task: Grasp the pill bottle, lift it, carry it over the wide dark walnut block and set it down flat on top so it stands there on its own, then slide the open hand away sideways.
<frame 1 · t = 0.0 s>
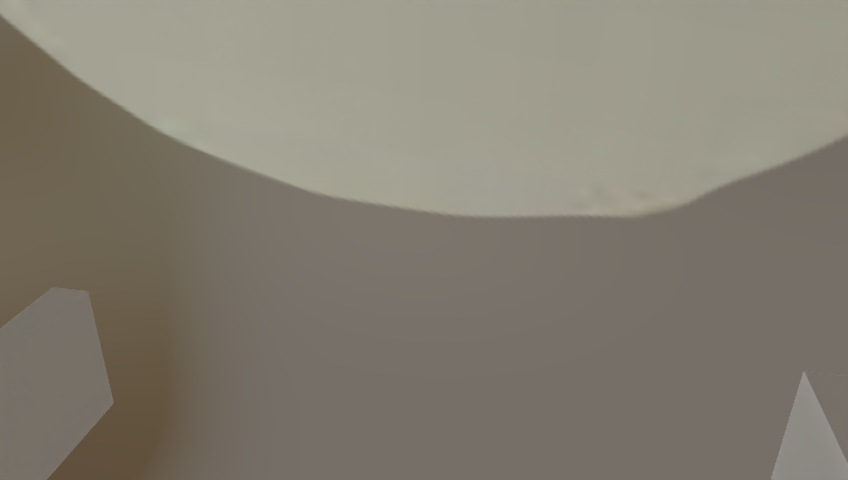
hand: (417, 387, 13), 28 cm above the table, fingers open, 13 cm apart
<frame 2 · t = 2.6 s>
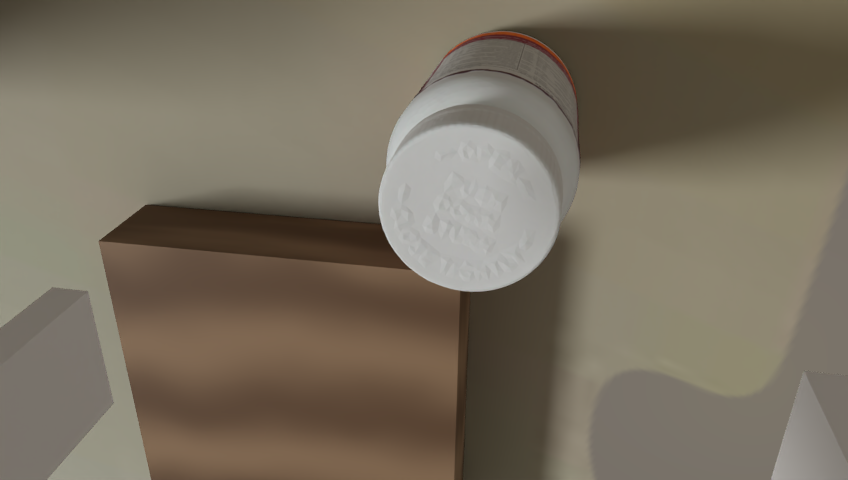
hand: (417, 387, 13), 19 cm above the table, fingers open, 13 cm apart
walnut block: (313, 357, 37), on the table
pill bottle: (502, 101, 30), on the table
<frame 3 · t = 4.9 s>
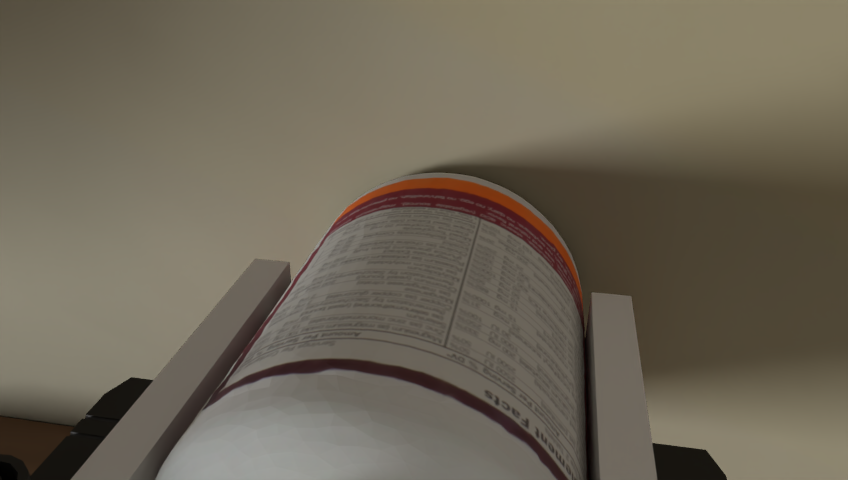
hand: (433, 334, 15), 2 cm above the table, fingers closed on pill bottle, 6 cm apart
pill bottle: (449, 283, 17), on the table, touching gripper
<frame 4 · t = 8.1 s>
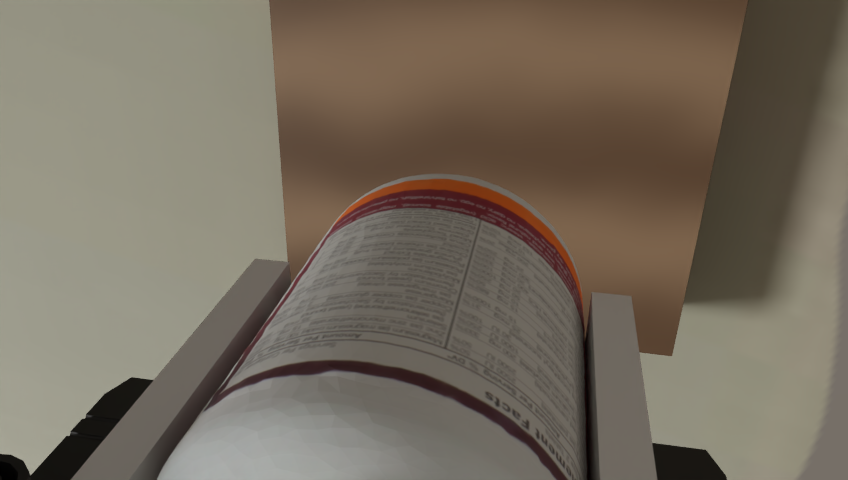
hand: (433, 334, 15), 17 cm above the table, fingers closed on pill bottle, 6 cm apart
walnut block: (495, 119, 30), on the table
pill bottle: (449, 283, 17), point 15 cm above the table, touching gripper
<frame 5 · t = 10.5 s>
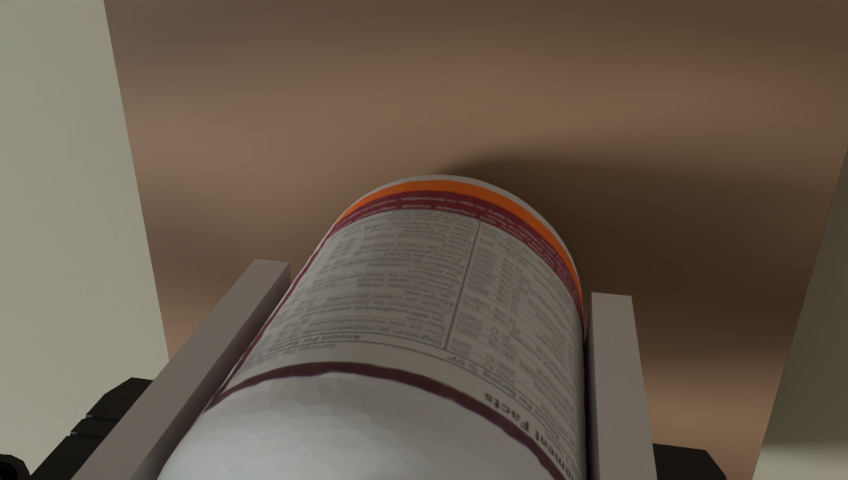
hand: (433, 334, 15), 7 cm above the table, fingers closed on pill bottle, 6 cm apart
walnut block: (471, 201, 21), on the table
pill bottle: (449, 284, 17), point 5 cm above the table, touching gripper
when the fingers open (6 cm above the table, at t = 11.8 s): pill bottle stays where it is, resting on walnut block.
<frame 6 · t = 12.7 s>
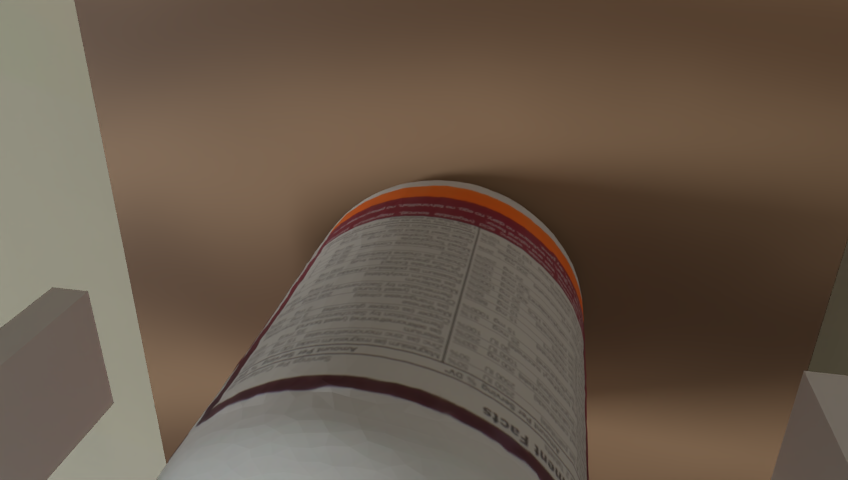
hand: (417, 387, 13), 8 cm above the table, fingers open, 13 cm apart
walnut block: (468, 220, 20), on the table
pill bottle: (448, 291, 17), point 4 cm above the table, touching walnut block
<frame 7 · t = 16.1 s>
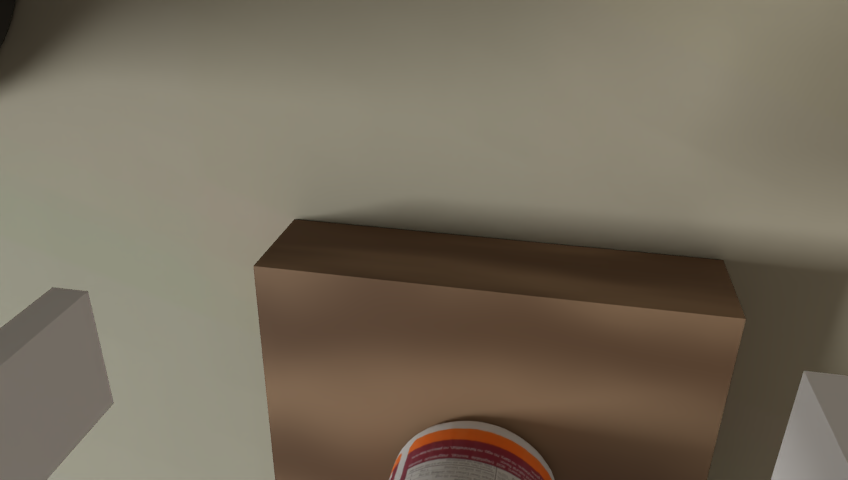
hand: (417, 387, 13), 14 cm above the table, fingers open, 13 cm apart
walnut block: (487, 409, 30), on the table
pill bottle: (476, 475, 27), point 4 cm above the table, touching walnut block
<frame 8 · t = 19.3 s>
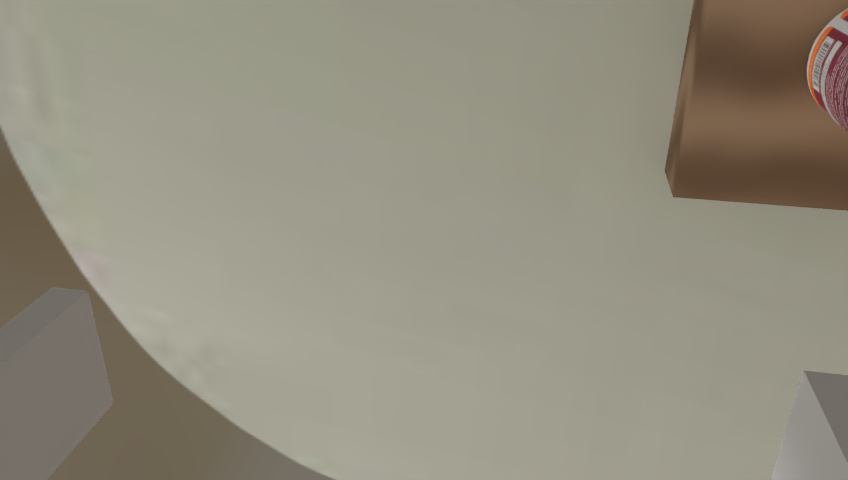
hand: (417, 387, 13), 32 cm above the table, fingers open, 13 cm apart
walnut block: (845, 40, 38), on the table
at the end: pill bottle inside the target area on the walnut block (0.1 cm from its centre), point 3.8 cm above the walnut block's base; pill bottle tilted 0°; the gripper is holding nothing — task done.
